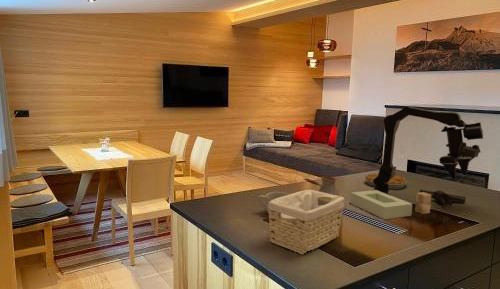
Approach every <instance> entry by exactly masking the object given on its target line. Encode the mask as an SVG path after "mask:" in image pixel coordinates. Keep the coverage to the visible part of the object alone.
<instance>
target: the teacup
mask: <svg viewBox="0 0 500 289" xmlns="http://www.w3.org/2000/svg"><path fill="white" fill-rule="evenodd" d="M286 195H290V193H287V192H284V191H283V192H282V191H271V192H268V193H266V194H265V195H264V194H261V195H259V196H258V197H257V203H258V204H259V205H260V206H261V207H263V208H264V210H266V212H268V210H269V209H268V204H269V202H270V201H271V200H274V199H276V198H279V197H283V196H286ZM261 199H263V200H264V202H265V204H264V203H262V201H261Z"/></svg>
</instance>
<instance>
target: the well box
mask: <svg viewBox="0 0 500 289" xmlns="http://www.w3.org/2000/svg"><path fill="white" fill-rule="evenodd" d="M350 204H351V205H354V206H355V207H358V208H360V209H362V210H363V211H366V212H368V213H371V214H372V215H374V216H376V217H379V218H380V219H381V220H388V219H389V220H390V219H395V218H396V219H397V218H403V217H404V218H405V217H411V216H412V213H413V203H411V202H408V201H406V200H404V199H403V200H402V199H400V198H399V197H395V196H392V195H391V194H389V193H388V194H385V193H383V192H380V191H378V190H374V189H373V190H365V191H354V192H350Z"/></svg>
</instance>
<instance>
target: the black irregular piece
mask: <svg viewBox="0 0 500 289" xmlns="http://www.w3.org/2000/svg"><path fill="white" fill-rule="evenodd" d="M422 192H424V193H427V194H430V195H431V199H433V200H435V201H436V202H438V203H439V204H440V205H444V206H446V207H447V206H448V205H449V207H450V206H452V205H453V203H458V204H465V202H466V197H465V196H460V195H456V194H455V195H453V194H448V193H446V192H444V191H442V190H436V191H430V190H424V189H420V190H419V192H418V193H422Z"/></svg>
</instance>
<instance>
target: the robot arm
mask: <svg viewBox="0 0 500 289" xmlns="http://www.w3.org/2000/svg"><path fill="white" fill-rule="evenodd" d="M408 116H411V117H417V118H423V119H426V120H428V119H429V120H432V121H436V122H438V123H441V124H443V125H445V126H443V128H442V129H441V132H442V133H446V138H447V144H445V146H446V147H447V148H448V153H447V155H444V156H440V158H439V164H441V166H443V167H444V168H445V169H446V171H447V172H448V173H449V176H450V177H451V178H452V180H454V179H455V180H456V179H457V166H458V165H459V168H460V171H461V172H462V174H463V175H464V176H466V175H468V169H469V165H470V162H471V161H472V160H474V159H475V158H478V156H479V154H480V153H481V149H480V145H478V144H474V145H471V146H469V145H467V142H464V139H466V140H467V141H471V140H482V139H484V131H483V127H482V122H475V123H467V122H465V121H464V120H462V116H461V115H460V113H459V112H456V111H435V110H430V109H424V108H420V107H419V108H417V107H413V106H412V105H411V106H410V105H408V106H407V105H406V106H404V107H403V108H401V109H400V110H399V111H397V112H395V113H393V114H389V115H386V116H385V117H384V118H383V127H384V132H385V137H384V138H385V139H384V145H383V146H384V147H383V155H382V156H383V157H382V164H381V166H380V167H379V171H378V173H377V174H378V176H377V177H376V178H375V179H373V182H374V187H373V190H378V191H380V192H383V193H385V194H388V195H389V189H388V182H389V180H390V179H392V178H393V177H394V175H397V174H396V169H397V166H394V164H393V161H394V160H393V159H394V153H395V152H394V149H395V141H396V134H397V132H398V130H399V126H400V123H401V122H402V121H403V120H404V119H405V118H407V117H408ZM448 126H449V127H448Z"/></svg>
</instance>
